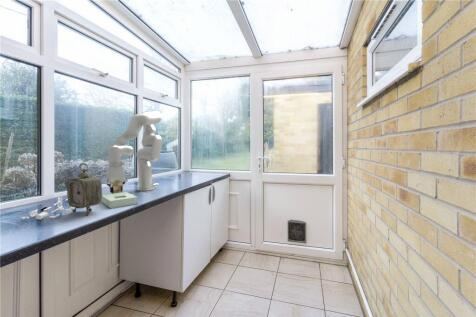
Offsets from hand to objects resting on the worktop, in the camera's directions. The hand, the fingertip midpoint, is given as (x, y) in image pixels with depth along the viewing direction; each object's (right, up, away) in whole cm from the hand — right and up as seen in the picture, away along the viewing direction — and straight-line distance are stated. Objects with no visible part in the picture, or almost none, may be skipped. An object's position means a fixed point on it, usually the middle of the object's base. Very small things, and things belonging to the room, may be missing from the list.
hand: (116, 192), depth 149 cm
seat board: (+9, -4, -15) cm, 18 cm away
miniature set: (-12, -5, -30) cm, 33 cm away
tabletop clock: (+3, -5, -34) cm, 35 cm away
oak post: (0, -3, 0) cm, 3 cm away
